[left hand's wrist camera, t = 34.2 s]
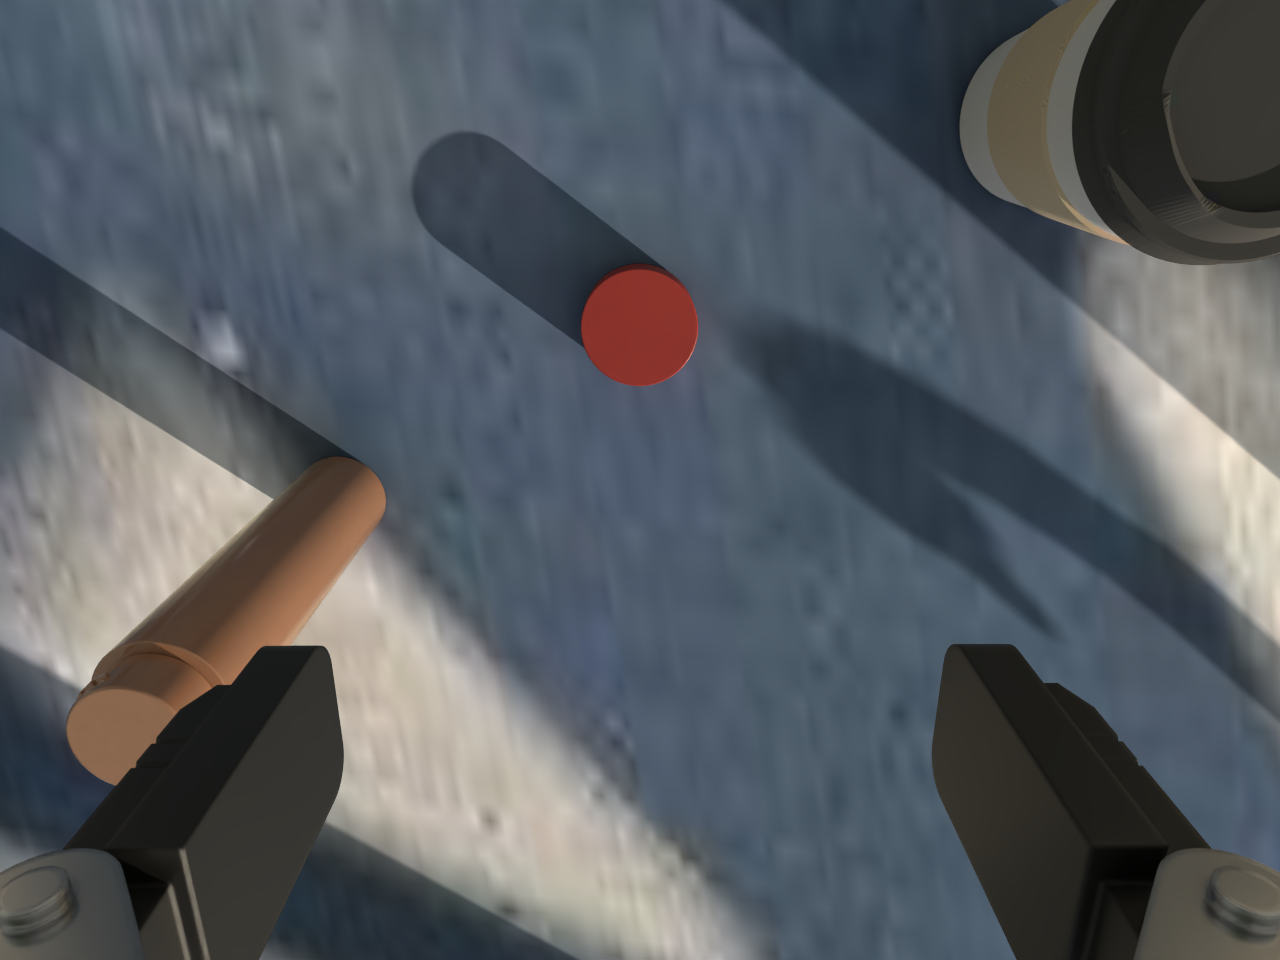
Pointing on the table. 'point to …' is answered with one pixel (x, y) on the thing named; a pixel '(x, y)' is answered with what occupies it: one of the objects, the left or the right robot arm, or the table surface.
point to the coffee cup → (1139, 124)
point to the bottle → (226, 613)
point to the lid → (639, 325)
